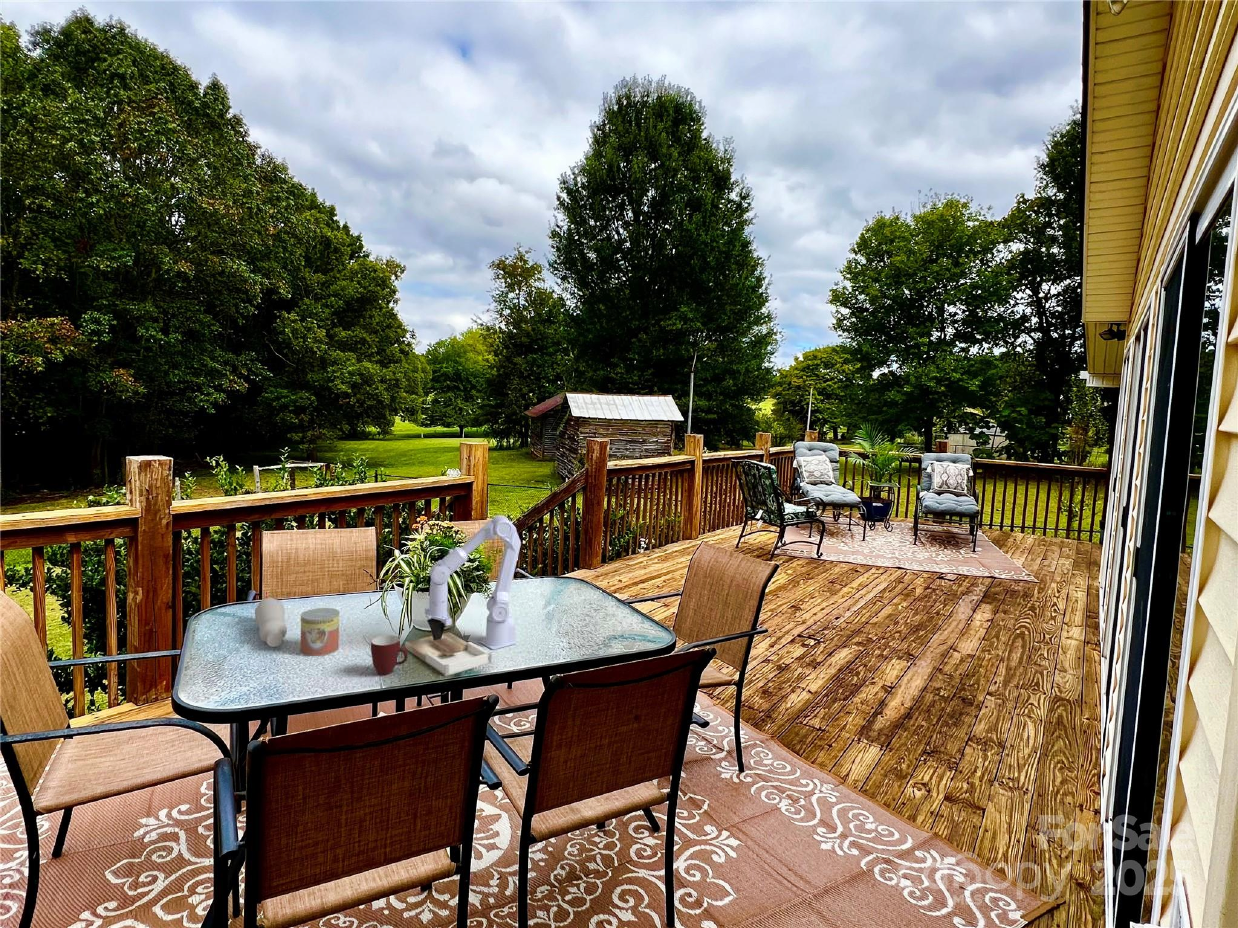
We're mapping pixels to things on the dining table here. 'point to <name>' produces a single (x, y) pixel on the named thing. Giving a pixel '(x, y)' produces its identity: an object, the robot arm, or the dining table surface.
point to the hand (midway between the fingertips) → (437, 640)
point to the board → (424, 646)
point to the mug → (386, 653)
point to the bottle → (271, 621)
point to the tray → (460, 660)
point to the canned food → (319, 632)
